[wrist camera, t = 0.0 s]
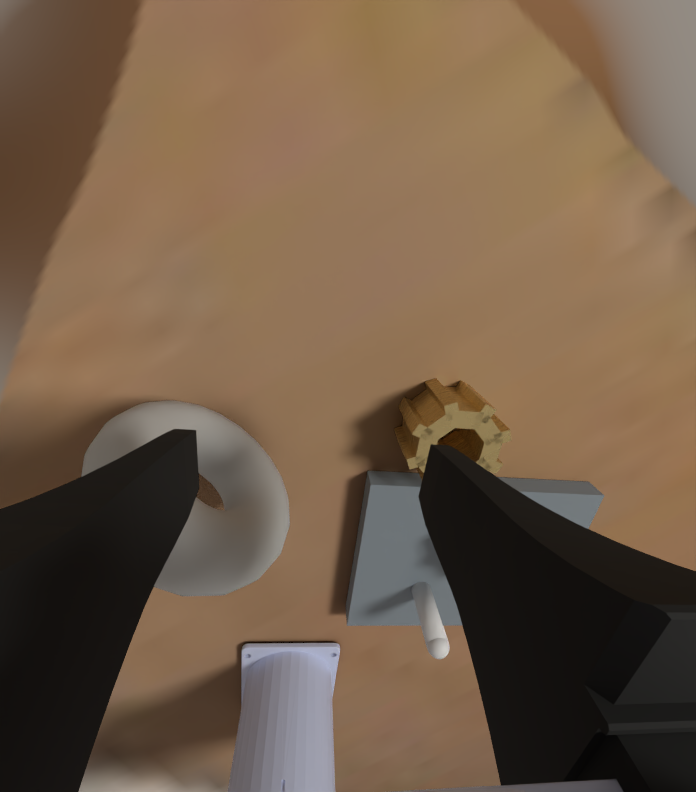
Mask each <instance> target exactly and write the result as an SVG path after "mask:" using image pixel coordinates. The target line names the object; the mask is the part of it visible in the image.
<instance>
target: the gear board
mask: <svg viewBox="0 0 696 792" xmlns="http://www.w3.org/2000/svg"><path fill="white" fill-rule="evenodd" d="M497 478H499V479H500V480H502V481H503V482H505V483H506V484H508V485H510V486H511V487H513V488H514V489H516V490H517V491H519V492H521V493H522V494H524V495H525V496H527V497H529V498H530V499H532V500H534V501H535V502H537V503H539V504H541V505H542V506H544V507H546V508H548V509H550V510H551V511H553V512H555V513H557V514H559V515H561V516H563V517H565V518H566V519H568V520H570V521H572V522H574V523H576V524H578V525H580V526H583V527H585V528H587V529H588V528H589V526H590V524H591V522H592V520H593V518H594V516H595V514H596V512H597V510H598V508H599V505H600V503H601V501H602V499H603V497H604V495H603V494H602V493H601V492H600V491H599V490H597V489H596V488H595V487H594V486H593V485H592V484H591V483H589V482H583V481H563V480H543V479H524V478H504V477H497ZM421 483H422V479H421V477H420V475H419V473H405V472H386V471H368V472H367V478H366V484H365V490H364V496H363V503H362V509H361V515H360V521H359V527H358V534H357V540H356V546H355V552H354V558H353V564H352V571H351V577H350V583H349V589H348V595H347V602H346V618H347V626H353V625H421V628H422V631H423V635H424V639H425V642H426V646H427V649H428V652H429V653H430V654H431V655H432V656H433V657H434V658H436V659H442V658H444V657H446V656H447V654H448V652H449V642H448V639H447V636H446V633H445V630H444V627H443V625H462V622H461V618H460V615H459V612H458V608H457V605H456V602H455V599H454V597H453V594H452V591H451V588H450V586H449V583H448V581H447V578H446V576H445V573H444V571H443V568H442V566H441V563H440V561H439V558H438V556H437V554H436V551H435V549H434V546H433V543H432V541H431V538H430V536H429V533H428V531H427V528H426V525H425V522H424V518H423V514H422V510H421V506H420V501H419V497H418V496H419V492H420V488H421Z"/></svg>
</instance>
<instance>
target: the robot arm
mask: <svg viewBox="0 0 696 792" xmlns="http://www.w3.org/2000/svg"><path fill="white" fill-rule="evenodd" d="M198 489H199V473H198V455H197V436H196V430H188V429H173V430H171V431H168V432H166V433H164V434H162V435H161V436H159V437H157V438H155V439H153V440H151V441H150V442H148V443H146V444H144V445H142V446H140V447H139V448H137V449H135V450H133V451H131V452H129V453H128V454H126V455H124V456H122V457H120V458H118V459H116V460H115V461H112V462H110V463H108V464H106V465H104V466H102V467H100V468H98V469H96V470H94V471H92V472H90V473H88V474H86V475H84V476H82V477H80V478H78V479H76V480H74V481H71V482H69V483H67V484H65V485H62V486H60V487H58V488H55V489H53V490H50V491H48V492H45V493H43V494H40V495H38V496H36V497H33V498H30V499H28V500H25V501H23V502H20V503H17V504H14V505H11V506H8V507H5V508H2V509H0V792H78V791H79V788H80V785H81V782H82V778H83V775H84V772H85V769H86V766H87V763H88V760H89V757H90V754H91V751H92V748H93V745H94V742H95V739H96V736H97V734H98V731H99V728H100V725H101V722H102V719H103V716H104V713H105V711H106V708H107V705H108V702H109V699H110V696H111V693H112V691H113V688H114V685H115V682H116V680H117V677H118V674H119V672H120V669H121V666H122V664H123V661H124V658H125V655H126V653H127V650H128V647H129V645H130V642H131V640H132V637H133V635H134V632H135V629H136V627H137V624H138V622H139V619H140V617H141V614H142V612H143V609H144V607H145V604H146V602H147V600H148V598H149V595H150V593H151V591H152V589H153V587H154V585H155V583H156V581H157V579H158V577H159V575H160V573H161V571H162V569H163V567H164V565H165V563H166V561H167V559H168V558H169V556H170V554H171V552H172V550H173V548H174V546H175V544H176V542H177V540H178V538H179V536H180V534H181V532H182V530H183V528H184V526H185V524H186V522H187V520H188V518H189V515H190V513H191V510H192V507H193V504H194V501H195V498H196V495H197V492H198ZM418 497H419V501H420V506H421V510H422V514H423V518H424V522H425V525H426V528H427V531H428V533H429V536H430V538H431V541H432V543H433V546H434V549H435V551H436V554H437V556H438V558H439V561H440V563H441V566H442V568H443V571H444V573H445V576H446V578H447V581H448V583H449V586H450V588H451V591H452V594H453V597H454V599H455V602H456V605H457V608H458V612H459V615H460V618H461V622H462V625H463V629H464V632H465V636H466V639H467V643H468V646H469V650H470V654H471V658H472V662H473V665H474V669H475V673H476V677H477V681H478V685H479V689H480V693H481V697H482V701H483V706H484V710H485V714H486V718H487V722H488V727H489V731H490V735H491V740H492V745H493V749H494V754H495V759H496V764H497V768H498V773H499V778H500V782H501V786H480V787H462V788H445V789H428V790H410V791H393V792H696V571H693V570H690V569H687V568H684V567H681V566H678V565H675V564H672V563H669V562H666V561H664V560H661V559H659V558H656V557H653V556H651V555H648V554H645V553H643V552H640V551H638V550H635V549H633V548H630V547H628V546H625V545H623V544H620V543H618V542H616V541H613V540H611V539H609V538H607V537H604V536H602V535H600V534H598V533H596V532H593V531H591V530H589V529H587V528H585V527H583V526H580V525H578V524H576V523H574V522H572V521H570V520H568V519H566V518H565V517H563V516H561V515H559V514H557V513H555V512H553V511H551V510H550V509H548V508H546V507H544V506H542V505H541V504H539V503H537V502H535V501H534V500H532V499H530V498H529V497H527V496H525V495H524V494H522V493H521V492H519V491H517V490H516V489H514V488H513V487H511V486H510V485H508V484H506V483H505V482H503V481H502V480H500V479H499V478H497V477H496V476H495V475H493V474H492V473H490V472H489V471H487V470H486V469H484V468H483V467H481V466H480V465H479V464H477V463H476V462H474V461H473V460H471V459H470V458H468V457H467V456H466V455H464V454H463V453H461V452H460V451H458V450H456V449H455V448H453V447H451V446H449V445H434V444H431V445H430V449H429V454H428V458H427V462H426V466H425V471H424V475H423V479H422V483H421V488H420V492H419V496H418ZM339 654H340V645H339V644H337V643H248V644H245V645H243V647H242V660H241V713H240V719H239V726H238V732H237V738H236V744H235V750H234V756H233V762H232V768H231V774H230V780H229V787H228V792H335V774H334V743H333V712H332V697H333V691H334V685H335V678H336V672H337V666H338V660H339Z"/></svg>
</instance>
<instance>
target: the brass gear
mask: <svg viewBox="0 0 696 792" xmlns="http://www.w3.org/2000/svg"><path fill="white" fill-rule="evenodd" d="M425 385H426V390H425V391H423V392H422V393H421V394H419V395H418V396H416V397H415V398H414V399H412V400H409V399H407V398H405V397H404V398H403V399H402V401H401V403H400V404H399V406H398V407H399V409H400V411H401V413H402V415H403V422H402V426H401V427H397V428H394V431H395V434H396V438H397V440H398V443H399V445H400V448H401V450H402V453H403V455H404V457H405V460H406V462H407V465H408V467H409V470H410V469H413V468H417V471H418V473H419V475H420V477H421V479H423V475H424V471H425V466H426V462H427V458H428V454H429V449H430V445H431V444H434V445H449V446H451V447H453V448H455V449H456V450H458V451H460V452H461V453H463V454H464V455H466V456H467V457H468V458H470V459H471V460H473V461H474V462H476V463H477V464H479V465H480V466H481V467H483V468H484V469H486V470H487V471H490V472H492V473H494V474H496V473H497V472H498V471H499V469H500V468H501V467H502V466H503V464H502V462H501V461H500V460H499V459H498V455H499V452H500V449H501V445H502V443H505V442H508V441H511V433H510V429H509V428H508V427H507V426H506V425H505V424H504V423H503V422H501V421H500V420H499V419H498V418H497V417H496V416H495V415H494V413H495V411H496V409H495V408H494V407H493V406H492V405H491V404H490V403H488V402H487V401H486V400H485V399H484V398H483V397H482V396H481V395H480V394H479V393H478V392H476V391H475V390H474V389H473V388H472V387H471V386H470V385H468V384H466V383H465V382H463V381H460V382H459V384H458V385H457V386H456V387H445V386H443V385H442V384H441V383H440V382H439V381H438V380H437V379H432V380H429V381H426V382H425ZM454 428H457V429H456V430H455V431H453V432H452V433H451V434H449V435H448V436H446V437H445V438H443V439H440V438H441V437H443V436H444V435H446V434H447V433H449V432H450V431H452V430H453V429H454Z"/></svg>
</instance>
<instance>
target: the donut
mask: <svg viewBox="0 0 696 792" xmlns="http://www.w3.org/2000/svg"><path fill="white" fill-rule="evenodd" d="M173 429H188V430H196V436H197V455H198V473H199V474H201V475H202V476H203V477H204V478H205V479H207V480H208V481H209V482H210V483H211V484H212V485H213V486H214V488H215V489H216V490H217V491H218V493H219V494H220V497H221V499H222V501H223V503H224V509H225V511H224V510H219V509H215V508H213V507H211V506H209V505H207V504H205V503H203V502H202V501H201V500H200V499H198V498H197V497H196V498H195V501H194V504H193V507H192V510H191V513H190V515H189V518H188V520H187V522H186V524H185V526H184V528H183V530H182V532H181V534H180V536H179V538H178V540H177V542H176V544H175V546H174V548H173V550H172V552H171V554H170V556H169V558H168V559H167V561H166V563H165V565H164V567H163V569H162V571H161V573H160V575H159V577H158V579H157V581H156V583H155V585H154V587H156V588H159V589H162V590H165V591H168V592H171V593H174V594H177V595H180V596H216V595H226V594H228V593H230V592H232V591H235V590H237V589H239V588H242V587H244V586H246V585H248V584H251V583H252V582H254V581H256V580H258V579H259V578H260V577H261V576H262V575H263V573H264V572H265V571H266V570H267V569H268V568H269V567H270V566H271V564H272V563H273V562H274V561H275V560H276V559H277V557H278V556H279V555H280V554H281V551H282V548H283V545H284V542H285V539H286V535H287V532H288V529H289V526H290V519H289V500H288V495H287V492H286V489H285V486H284V483H283V480H282V477H281V475H280V473H279V472H278V470H277V468H276V466H275V465H274V463H273V461H272V459H271V458H270V457H269V455H268V454H267V453H266V452H265V451H264V449H263V448H262V447H261V446H260V444H259V443H258V442H257V441H256V440H255V439H254V438H253V437H252V436H250V435H249V434H248V433H247V432H246V431H245V430H244V429H242V428H241V427H240V426H239V425H237V424H236V423H234V422H233V421H231V420H229V419H228V418H226V417H225V416H223V415H222V414H220V413H218V412H215V411H213V410H210V409H208V408H205V407H203V406H200V405H198V404H192V403H186V402H181V401H174V400H164V401H155V402H146V403H142V404H139V405H136V406H134V407H132V408H130V409H128V410H126V411H124V412H122V413H120V414H118V415H117V416H115V417H113V418H112V419H111V420H109V421H108V422H107V423H105V425H104V426H103V428H102V429H101V430H100V432H99V433H98V434H97V436H96V437H95V439H94V440H93V441H92V443H91V444H90V446H89V447H88V449H87V451H86V453H85V455H84V462H83V468H82V475H81V477H82V476H84V475H86V474H88V473H90V472H92V471H94V470H96V469H98V468H100V467H102V466H104V465H106V464H108V463H110V462H112V461H115V460H116V459H118V458H120V457H122V456H124V455H126V454H128V453H129V452H131V451H133V450H135V449H137V448H139V447H140V446H142V445H144V444H146V443H148V442H150V441H151V440H153V439H155V438H157V437H159V436H161V435H162V434H164V433H166V432H168V431H171V430H173Z"/></svg>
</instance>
